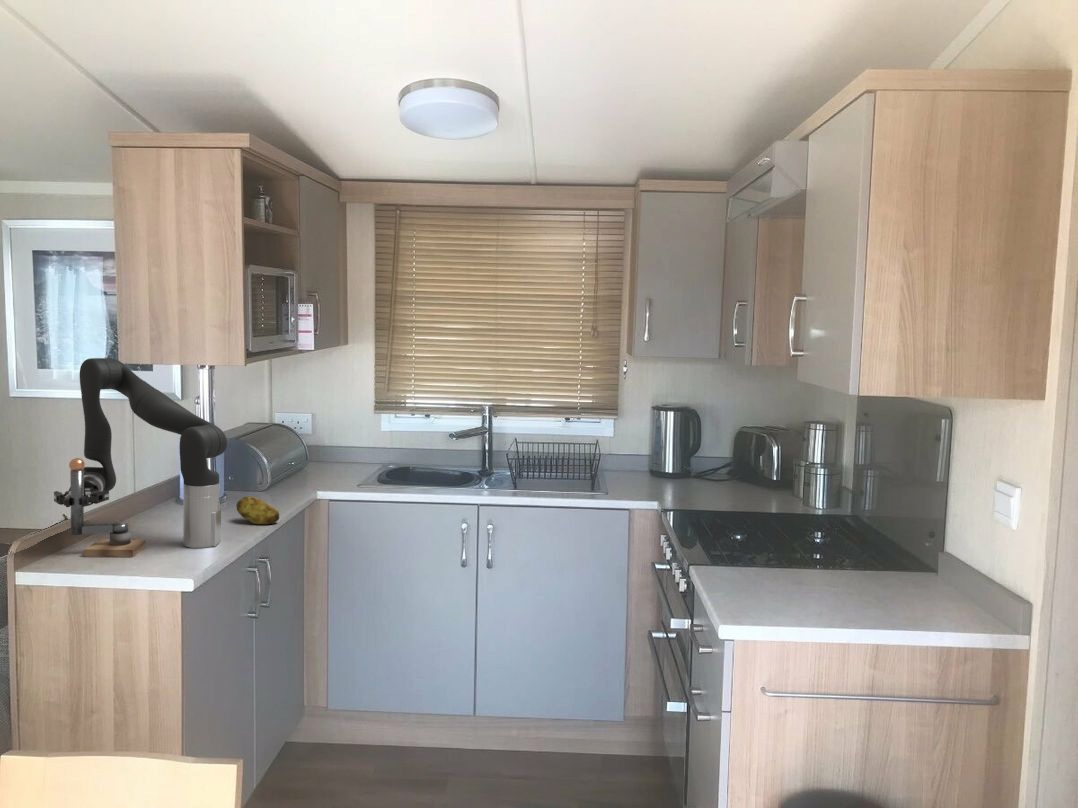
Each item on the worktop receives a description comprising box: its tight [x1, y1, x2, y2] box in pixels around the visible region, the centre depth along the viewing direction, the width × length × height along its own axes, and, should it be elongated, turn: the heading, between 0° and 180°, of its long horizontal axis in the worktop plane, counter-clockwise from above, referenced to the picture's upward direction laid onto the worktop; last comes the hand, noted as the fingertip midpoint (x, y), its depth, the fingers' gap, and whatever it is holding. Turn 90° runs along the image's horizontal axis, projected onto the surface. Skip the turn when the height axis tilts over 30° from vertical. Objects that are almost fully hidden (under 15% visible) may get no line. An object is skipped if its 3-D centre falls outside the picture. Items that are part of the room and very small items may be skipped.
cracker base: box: [83, 530, 147, 558], centre depth 218 cm, size 12×10×5 cm
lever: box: [68, 457, 130, 536], centre depth 216 cm, size 14×4×20 cm, turn 114°
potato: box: [236, 496, 280, 525], centre depth 255 cm, size 8×13×8 cm, turn 65°
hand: (75, 503), depth 212 cm, fingers closed on lever, 3 cm apart
